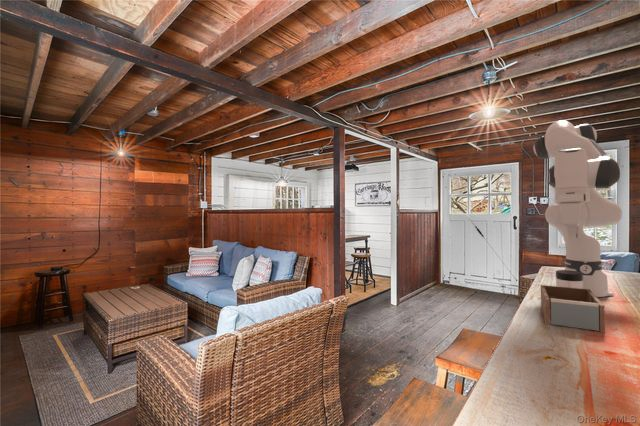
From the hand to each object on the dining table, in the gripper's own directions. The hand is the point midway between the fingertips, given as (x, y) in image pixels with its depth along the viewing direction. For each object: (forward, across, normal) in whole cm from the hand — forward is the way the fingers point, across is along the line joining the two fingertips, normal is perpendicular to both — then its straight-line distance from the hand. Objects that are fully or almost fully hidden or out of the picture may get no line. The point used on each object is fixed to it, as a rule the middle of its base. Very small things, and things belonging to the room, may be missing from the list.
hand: (573, 239), depth 99 cm
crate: (+27, -3, -2) cm, 27 cm away
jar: (+26, -22, -3) cm, 34 cm away
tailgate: (+27, +7, 0) cm, 28 cm away
